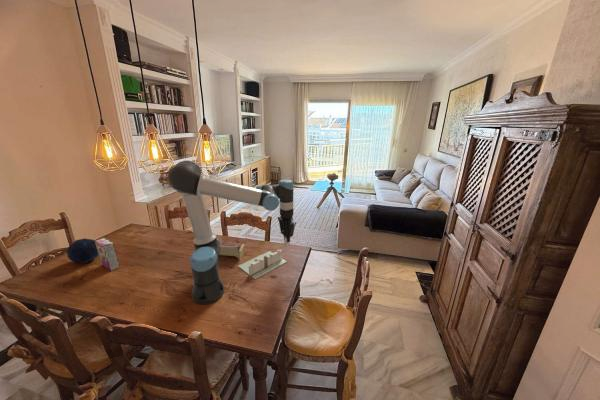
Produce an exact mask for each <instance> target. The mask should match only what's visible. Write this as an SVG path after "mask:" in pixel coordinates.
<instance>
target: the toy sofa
mask: <svg viewBox="0 0 600 400" xmlns="http://www.w3.org/2000/svg"><path fill="white" fill-rule="evenodd" d="M220 246H221V248H220V253H219V256H229V257H236V259H238V260H239V261H241V259H242V258H243V256H244V254H245V249H244V247H245V244H244V243H242V244H241V246H240V245H237V244H220Z"/></svg>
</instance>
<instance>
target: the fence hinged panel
mask: <svg viewBox="0 0 600 400" xmlns="http://www.w3.org/2000/svg"><path fill="white" fill-rule="evenodd" d="M272 253H273V254H271V253H270V254H269V256H267V266H269V265H271V264H273V263H275V262H277V261H279V260H281V259H283V250H282V249H276V251H275V252H272Z"/></svg>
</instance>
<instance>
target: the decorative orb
mask: <svg viewBox="0 0 600 400" xmlns="http://www.w3.org/2000/svg"><path fill="white" fill-rule="evenodd" d="M95 241H96V240H95V239H90V238H80V239H75V240H74V241H73V242H72V243H71V244H69V246H68V249H67V250H66V254H67V258H68V259H69V260H70V261H72V262H73V263H74V264H75V263H77V264H86V263H90V262H92V261H93V260H94V259H96V258H97V257H98V256H99V253H98V250H97V247H96V244H95ZM89 261H90V262H89Z"/></svg>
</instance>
